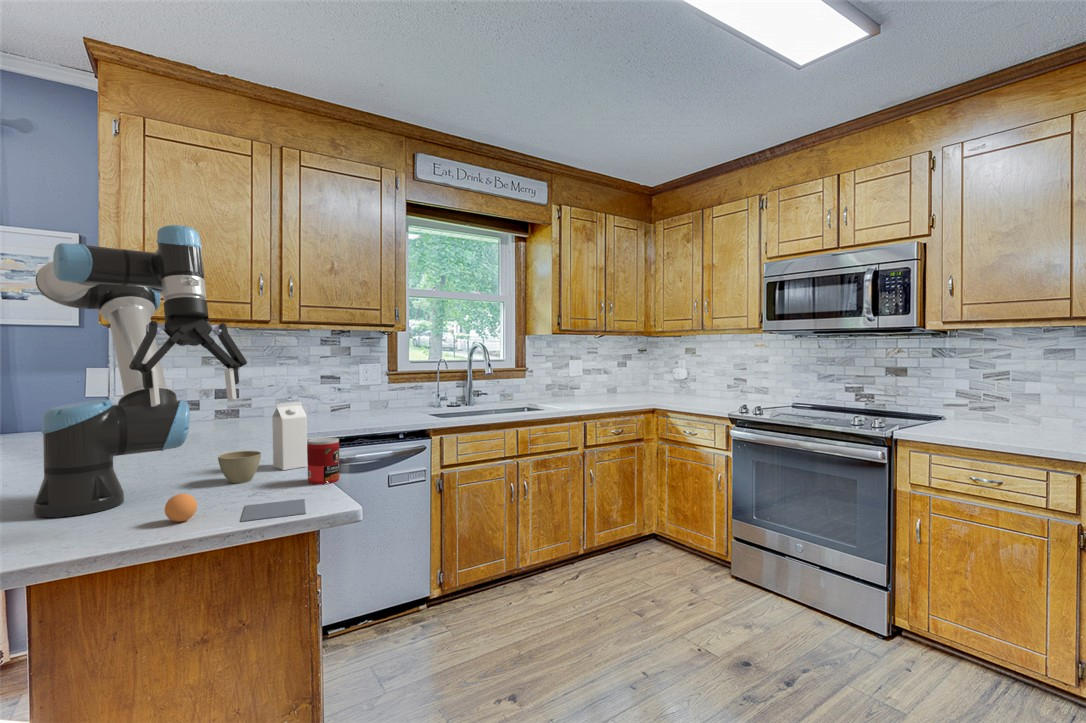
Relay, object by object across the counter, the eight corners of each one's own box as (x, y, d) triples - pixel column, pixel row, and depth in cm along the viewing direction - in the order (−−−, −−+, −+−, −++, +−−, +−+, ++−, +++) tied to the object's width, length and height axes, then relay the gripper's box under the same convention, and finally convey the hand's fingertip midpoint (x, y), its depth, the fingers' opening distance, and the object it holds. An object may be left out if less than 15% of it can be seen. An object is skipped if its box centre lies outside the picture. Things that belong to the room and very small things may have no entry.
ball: (162, 527, 107) (161, 499, 106) (168, 519, 112) (167, 492, 111) (195, 523, 109) (194, 495, 109) (199, 515, 114) (198, 489, 114)
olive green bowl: (209, 485, 139) (208, 457, 139) (237, 476, 149) (236, 450, 149) (243, 486, 138) (243, 458, 138) (269, 477, 148) (269, 451, 147)
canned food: (329, 485, 138) (328, 442, 138) (301, 484, 140) (300, 441, 140) (345, 478, 146) (345, 437, 146) (319, 477, 147) (318, 436, 147)
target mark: (240, 521, 109) (240, 520, 109) (245, 506, 120) (245, 505, 120) (305, 513, 114) (305, 512, 114) (304, 499, 125) (304, 498, 125)
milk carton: (273, 467, 160) (271, 403, 160) (297, 463, 165) (296, 401, 165) (283, 470, 155) (281, 404, 155) (307, 466, 161) (306, 402, 160)
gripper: (114, 290, 100) (124, 404, 97) (256, 299, 119) (267, 395, 116) (104, 301, 104) (113, 410, 102) (242, 309, 124) (252, 401, 121)
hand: (195, 402), depth 109 cm, fingers open, 13 cm apart
